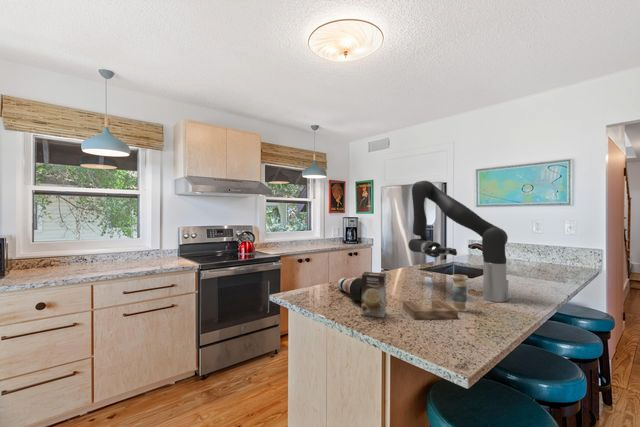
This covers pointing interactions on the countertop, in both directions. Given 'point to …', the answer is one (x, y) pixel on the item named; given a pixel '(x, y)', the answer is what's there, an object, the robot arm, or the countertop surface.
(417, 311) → the notched board
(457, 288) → the cord spool
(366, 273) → the coffee box
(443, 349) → the countertop surface
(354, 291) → the black white tapered cylinder
